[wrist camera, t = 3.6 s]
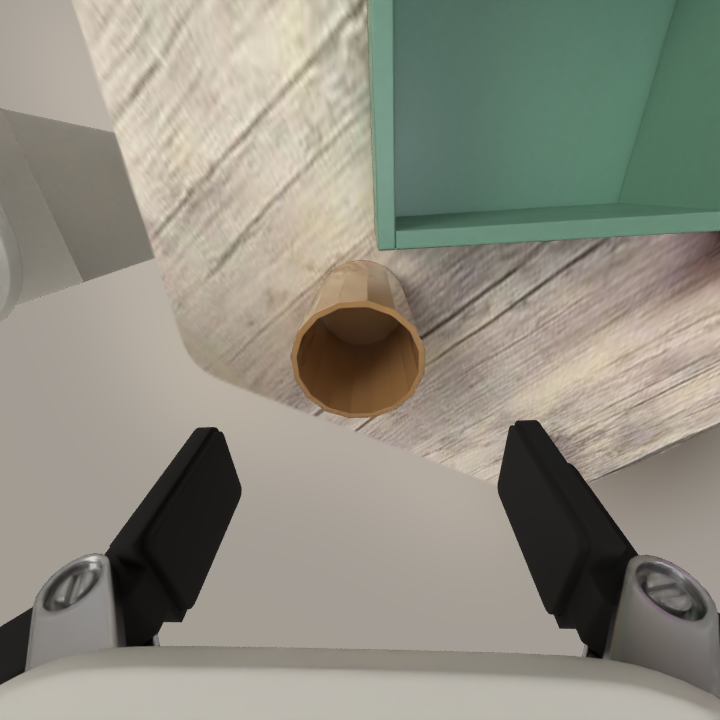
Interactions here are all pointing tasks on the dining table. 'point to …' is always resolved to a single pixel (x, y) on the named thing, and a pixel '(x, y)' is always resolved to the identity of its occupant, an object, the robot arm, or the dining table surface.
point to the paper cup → (358, 343)
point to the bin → (543, 119)
